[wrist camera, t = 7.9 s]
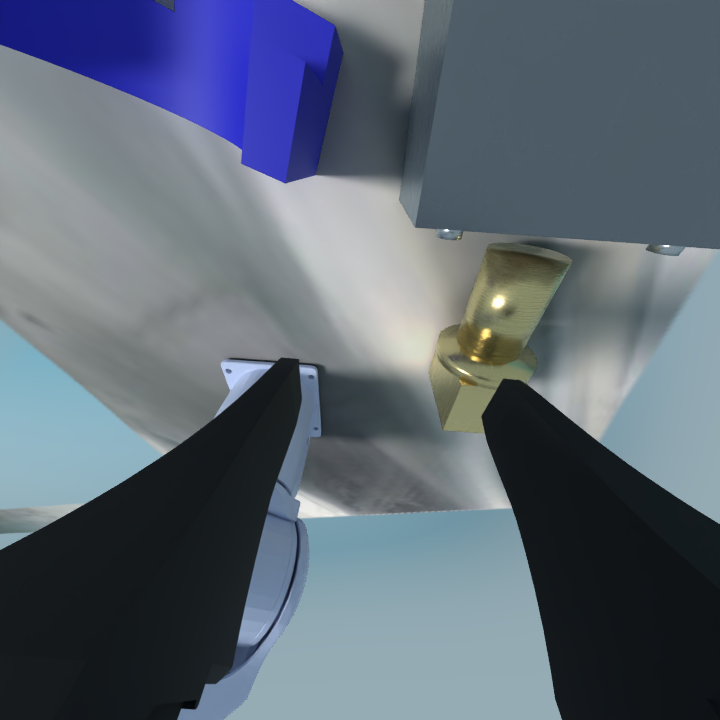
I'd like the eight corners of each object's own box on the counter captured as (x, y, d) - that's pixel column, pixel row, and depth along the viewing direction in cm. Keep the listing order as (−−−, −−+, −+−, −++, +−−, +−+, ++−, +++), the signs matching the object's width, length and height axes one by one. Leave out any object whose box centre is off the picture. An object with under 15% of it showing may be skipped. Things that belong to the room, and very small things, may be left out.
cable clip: (343, 54, 11) (319, -25, 6) (316, 175, 14) (285, 183, 9) (10, -136, 9) (-422, -486, 4) (55, 53, 11) (-173, -22, 7)
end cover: (486, 377, 21) (517, 438, 16) (417, 372, 21) (429, 431, 16) (552, 241, 14) (634, 279, 10) (452, 233, 14) (489, 268, 10)
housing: (612, 228, 14) (759, 271, 9) (397, 212, 14) (411, 246, 9) (774, -42, 9) (1404, -358, 3) (433, -66, 9) (524, -415, 4)
